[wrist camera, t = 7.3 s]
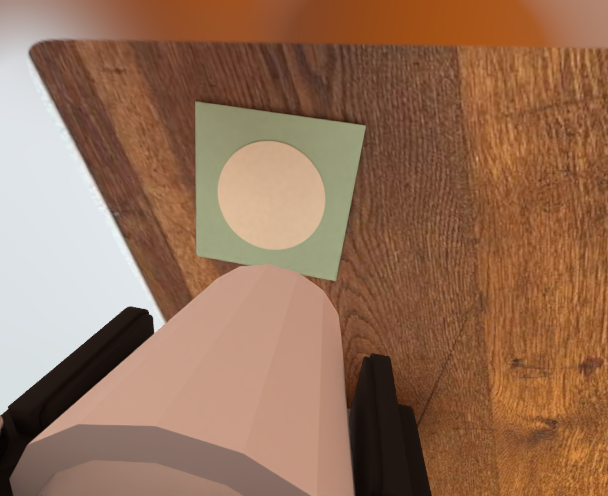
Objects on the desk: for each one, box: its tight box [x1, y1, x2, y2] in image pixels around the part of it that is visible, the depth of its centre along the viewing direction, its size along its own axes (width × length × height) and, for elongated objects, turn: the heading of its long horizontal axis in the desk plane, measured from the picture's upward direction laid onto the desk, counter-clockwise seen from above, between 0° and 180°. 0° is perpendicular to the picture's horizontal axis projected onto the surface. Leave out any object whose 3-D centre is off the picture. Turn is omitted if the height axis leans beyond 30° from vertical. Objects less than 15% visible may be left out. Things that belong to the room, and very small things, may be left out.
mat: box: [195, 101, 366, 281], centre depth 26 cm, size 13×13×1 cm
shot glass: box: [9, 264, 356, 496], centre depth 9 cm, size 7×7×7 cm
